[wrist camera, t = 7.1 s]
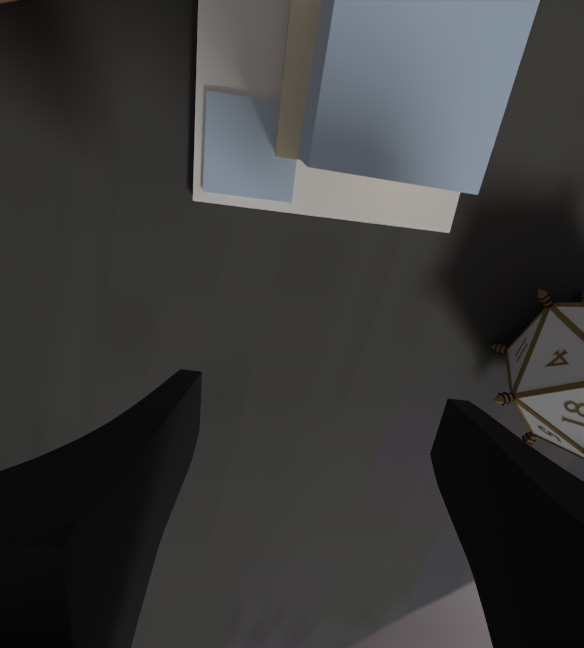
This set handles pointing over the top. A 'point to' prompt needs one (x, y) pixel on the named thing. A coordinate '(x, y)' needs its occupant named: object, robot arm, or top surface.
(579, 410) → the game die
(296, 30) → the maple base block
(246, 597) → the top surface
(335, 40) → the blue-grey block
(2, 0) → the terracotta block
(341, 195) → the mat
